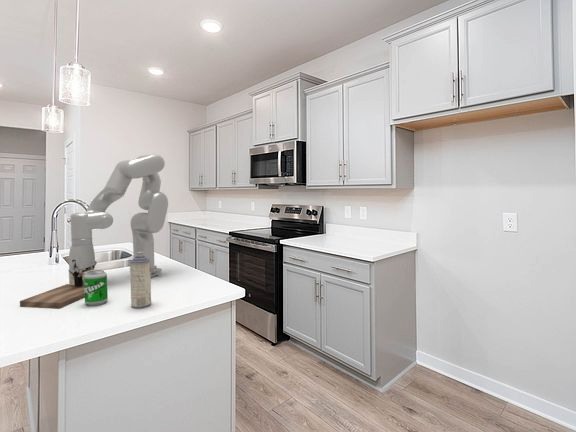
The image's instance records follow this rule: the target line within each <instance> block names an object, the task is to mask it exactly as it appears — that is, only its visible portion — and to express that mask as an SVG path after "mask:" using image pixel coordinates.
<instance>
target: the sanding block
mask: <svg viewBox="0 0 576 432" xmlns="http://www.w3.org/2000/svg"><path fill="white" fill-rule="evenodd" d="M94 270H95V269H94ZM94 270H87V269H82V273H81V276H82V286H75V283H74V277H73V275H72V274H71V273H70V272H69V271H68V279H69V281H68V282H69V283H68V284H69V286H75V287H84V275H85V274H86V273H87V272H89V271H94ZM78 272H79V271H77V273H78Z"/></svg>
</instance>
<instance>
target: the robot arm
mask: <svg viewBox="0 0 576 432" xmlns="http://www.w3.org/2000/svg"><path fill="white" fill-rule="evenodd" d="M165 165H166V163H165V160H164V158H163V157H162V156H161V155H160V154H156V153H153V154H145V155H144V154H143V155H139V156H138V157H136V159H129V160H121V161H118V163H117V164H116V165H115V167H114V168H113V171H112V173H111V174H110V176H109V179H108V181H107V182H106V184H105V186H104V187H103V189H102V190H101V191H99V193H98V194H96V196H95V197H94V198H93V199H92V201H90V204H89V205H88V207H87V209H86V211H85V212H75V213H72V214H71V215H70V216H69V217H70V235H71V237H70V238H71V246H70V247H69V254H68V273H69V272H70V273H71V274H72V275H73V277H74V283H75V286H82V276H81V273H82V269H87V270H95V267H96V265H97V264H98V263H97V260H96V256H95V255H96V254H95V249H94V244H93V229H95V230H105V229H108V228H110V227H111V226H112V225H113V223H114V218H113V216H112V214H111V213H109V212H106V211H107V209H108V208H109V207H110V206H111V205H112V204H114V202H117V201H119V200H121V199H122V198H123V197H124V195H125V194H126V192H127V190H128V188H129V186H130V184H131V182H132V180H133V179H140V178H142V184H141V190H140V193H139V197H138V203H137V204H138V207H139V208H140V209H141V210H144V211H147V212H143V211H141V212H137V213H135V214H133V216H132V217H131V219H130V224H129V225H130V229H131V234H132V248H133V250H132V253H133V258H134V257H135V256H136V255H137V252H142V254H143V255H144V256H145V257H147V259H149V260H150V277H151V278H153V277H157V276H158V275H159V274H161V273H162V268H157V267H158V266H157V265H155V239H154V234H157V233H160V231H161V230H162V229H163V227H164V225H165V221H166V218H167V217H166V216H167V213H168V209H169V200H168V197H167V195H166V194H165V193H164V192H161V184H162V180H161V176H160V174H159V172H162V170H163V169H164V168H165ZM77 271H79V272H78V273H77Z"/></svg>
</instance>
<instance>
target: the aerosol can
mask: <svg viewBox="0 0 576 432" xmlns="http://www.w3.org/2000/svg"><path fill="white" fill-rule="evenodd" d="M129 273H130V274H129V275H130V277H129V278H130V301H131V302H130V307H131V309H136V310H137V309H145V308H149V307H150V306H151V305H152V283H151V282H152V279H151V278H152V277H150V260H149V259H147V257H145V256H144V255H143V254H142V252H137V255H136V256H135V257H134V256H133V258H132V259H131V260H130V262H129Z"/></svg>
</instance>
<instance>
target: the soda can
mask: <svg viewBox="0 0 576 432" xmlns="http://www.w3.org/2000/svg"><path fill="white" fill-rule="evenodd" d="M84 292H85V298H84V303H85V304H87V306H90V307H94V306H95V307H96V306H100V305H103V304H105V303H106V302H107V301H108V299H109V297H108V295H109V294H108V292H109V291H108V274H107V271H106V272H105V270H103V269H102V270H101V269H94V271H89V272H87V273H86V274H85V275H84Z"/></svg>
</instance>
